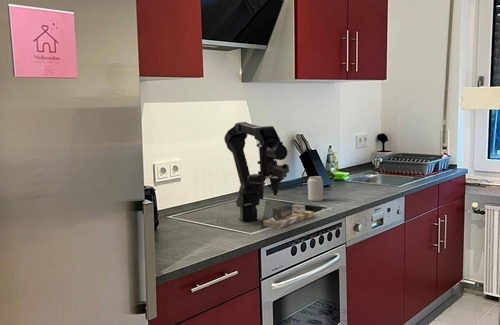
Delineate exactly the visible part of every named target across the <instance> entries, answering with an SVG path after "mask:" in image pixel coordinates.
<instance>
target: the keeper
mask: <svg viewBox="0 0 500 325" xmlns="http://www.w3.org/2000/svg"><path fill="white" fill-rule="evenodd" d="M298 210H299V214H304V213H305V211H306V205H305V204H297V203H295V204H292V205H291V211H292V213H297V212H298Z"/></svg>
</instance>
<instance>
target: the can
mask: <svg viewBox="0 0 500 325" xmlns="http://www.w3.org/2000/svg"><path fill="white" fill-rule="evenodd" d="M307 194H308V195H307V196H308V200H309V201H310V202H313V201H318V202H322V201H323V200H324V179H323V178H322V176H320V175H319V176H318V175H314V176H309V177H308V179H307Z"/></svg>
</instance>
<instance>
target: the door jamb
mask: <svg viewBox="0 0 500 325" xmlns="http://www.w3.org/2000/svg"><path fill="white" fill-rule="evenodd" d="M314 215H315V213H314V211H311V210H305V213H304V214H299V209H298V212H297V213H292V215H290V216H287V217H284V218H281V219H278V220H275V219H274V218H273V217H272V218H269V219H265V220H263V226H264V227H270V228H274V227H276V228H275V229H281V228H283V226H284V227H287V226H289V224H290V225H292V223H293V224H295V223H294V222H296V223H299V222H300V221H301V220H302V221H304V219H305V220H308V219H310V218H313V217H315V216H314ZM307 218H308V219H307ZM298 221H299V222H298ZM286 225H287V226H286ZM280 227H281V228H280Z"/></svg>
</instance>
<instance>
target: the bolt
mask: <svg viewBox="0 0 500 325" xmlns="http://www.w3.org/2000/svg"><path fill="white" fill-rule="evenodd" d="M290 215H292V210H288V211H285V212H282V208H281V207H275V206H274V207H272V218H274V219H275V220H278V219H281V218H284V217H287V216H290Z"/></svg>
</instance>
